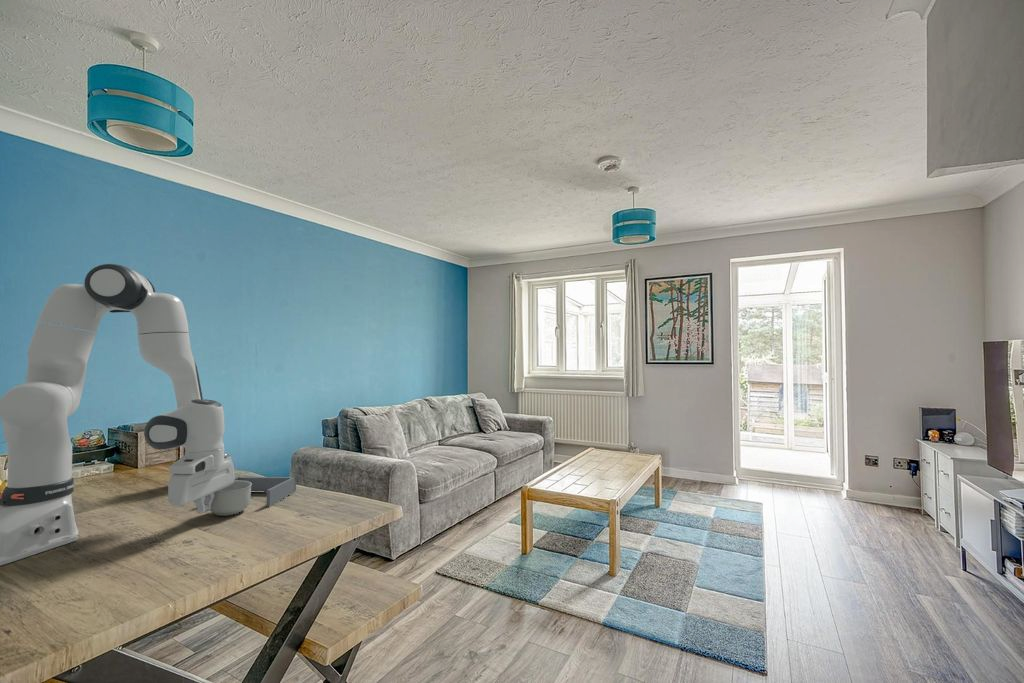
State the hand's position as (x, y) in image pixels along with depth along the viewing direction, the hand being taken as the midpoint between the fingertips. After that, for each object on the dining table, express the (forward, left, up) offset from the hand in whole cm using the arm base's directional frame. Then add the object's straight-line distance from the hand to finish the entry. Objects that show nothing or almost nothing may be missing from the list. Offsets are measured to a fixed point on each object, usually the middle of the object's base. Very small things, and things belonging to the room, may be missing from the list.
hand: (203, 511), depth 123 cm
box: (+22, 0, -3) cm, 22 cm away
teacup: (+8, 0, -3) cm, 8 cm away
